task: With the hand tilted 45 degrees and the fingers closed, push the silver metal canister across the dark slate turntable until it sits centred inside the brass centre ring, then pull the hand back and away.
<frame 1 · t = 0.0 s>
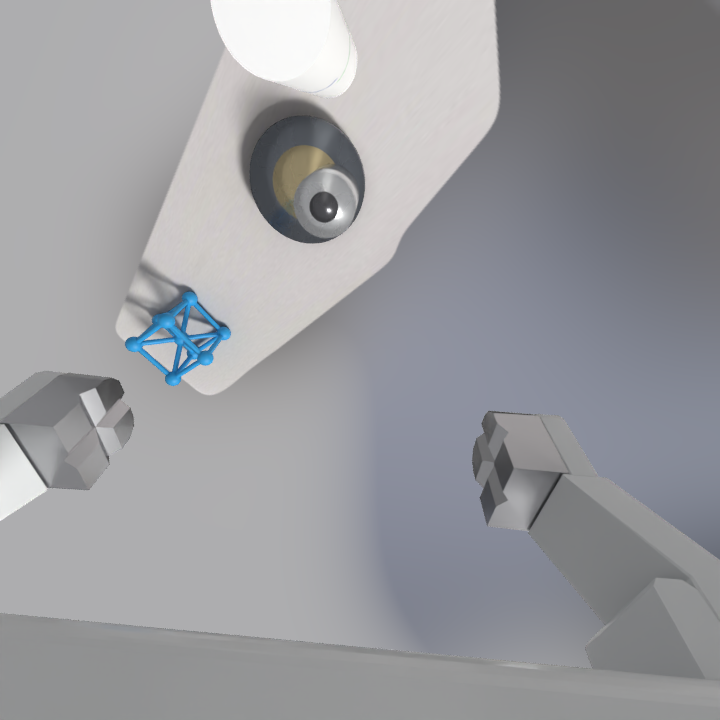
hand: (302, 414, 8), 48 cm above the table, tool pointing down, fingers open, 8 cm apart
silver metal canister: (332, 194, 48), point 3 cm above the table, touching turntable platter
turntable platter: (307, 184, 48), point 2 cm above the table, hinge at 0.0°, touching silver metal canister
molecular structure: (195, 323, 63), on the table
cylindrical container: (326, 60, 42), on the table
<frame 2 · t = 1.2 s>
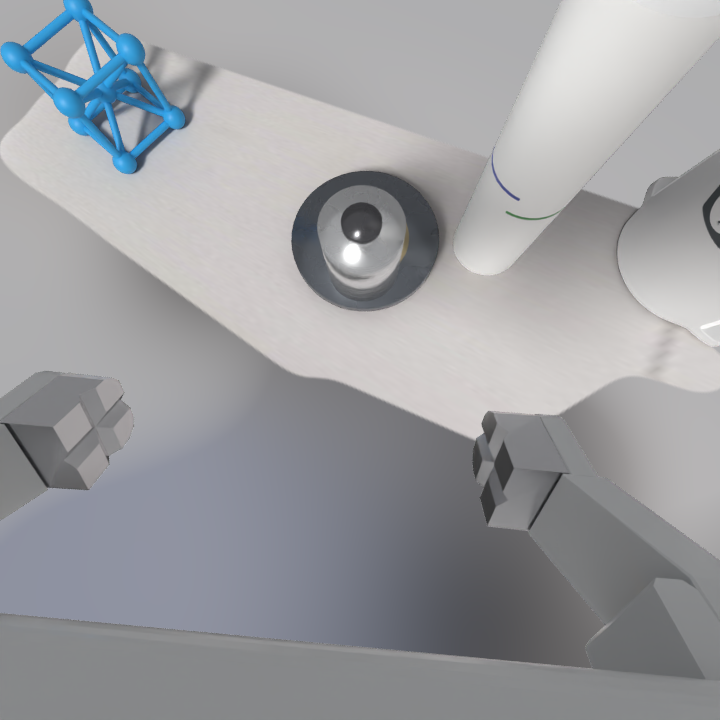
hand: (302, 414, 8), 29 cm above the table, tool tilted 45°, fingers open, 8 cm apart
silver metal canister: (363, 268, 36), point 3 cm above the table, touching turntable platter
turntable platter: (364, 239, 37), point 2 cm above the table, hinge at 0.0°, touching silver metal canister
molecular structure: (135, 130, 43), on the table
cylindrical container: (485, 245, 39), on the table
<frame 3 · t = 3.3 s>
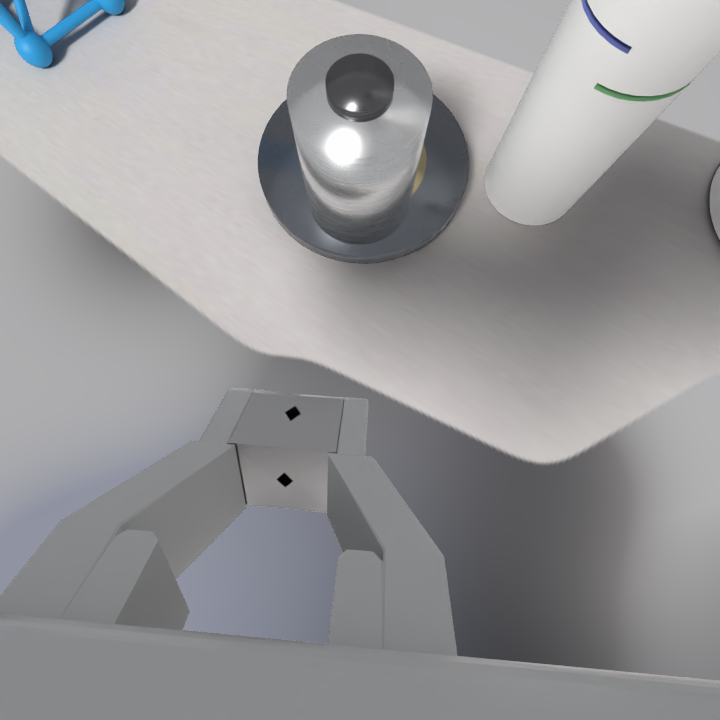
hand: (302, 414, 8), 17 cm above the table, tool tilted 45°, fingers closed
silver metal canister: (359, 198, 25), point 3 cm above the table, touching turntable platter
turntable platter: (363, 163, 26), point 2 cm above the table, hinge at 0.0°, touching silver metal canister
molecular structure: (56, 14, 32), on the table
cylindrical container: (528, 186, 29), on the table
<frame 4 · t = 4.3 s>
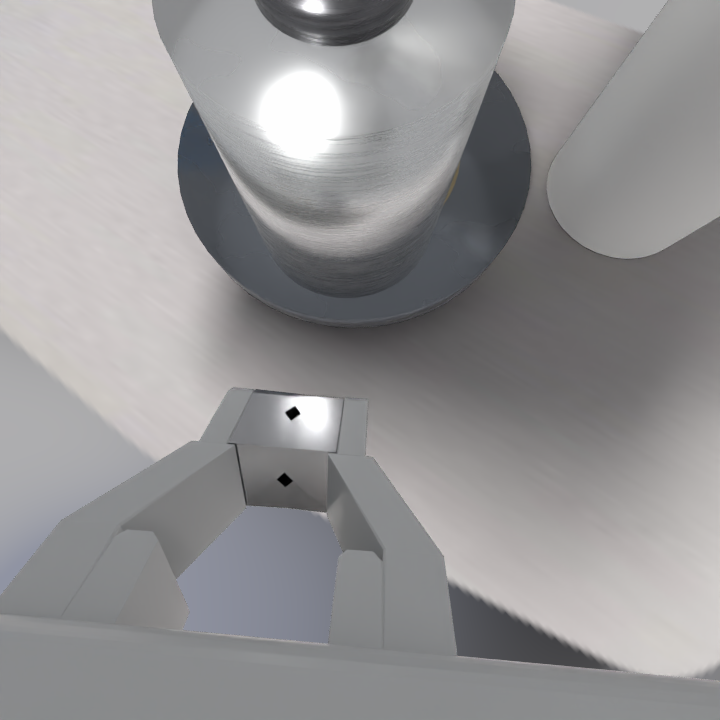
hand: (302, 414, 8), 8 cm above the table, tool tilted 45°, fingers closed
silver metal canister: (347, 217, 15), point 3 cm above the table, touching turntable platter
turntable platter: (354, 160, 16), point 2 cm above the table, hinge at 0.0°, touching silver metal canister
cylindrical container: (615, 195, 18), on the table
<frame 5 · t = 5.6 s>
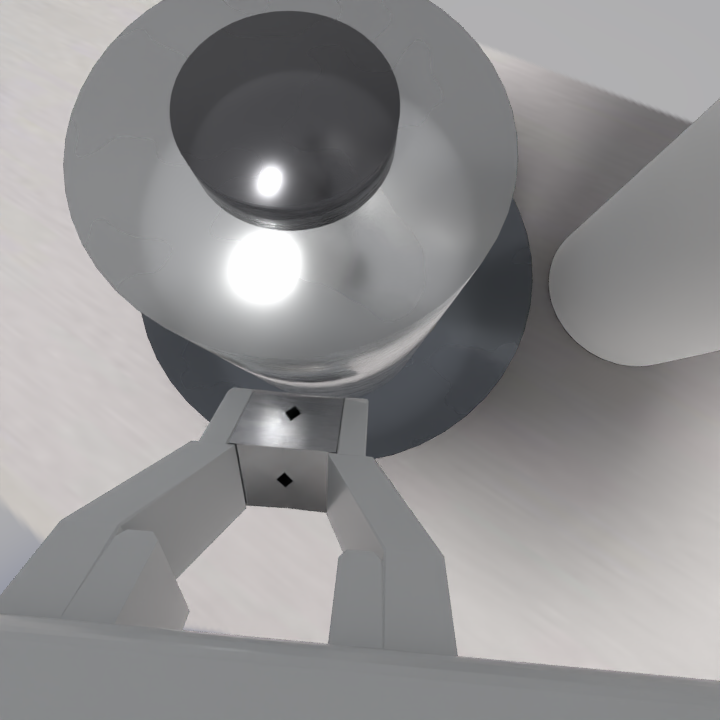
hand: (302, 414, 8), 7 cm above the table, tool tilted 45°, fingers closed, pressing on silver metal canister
silver metal canister: (330, 307, 13), point 3 cm above the table, touching gripper, turntable platter
turntable platter: (337, 267, 14), point 2 cm above the table, hinge at 0.0°, touching silver metal canister
cylindrical container: (623, 291, 17), on the table
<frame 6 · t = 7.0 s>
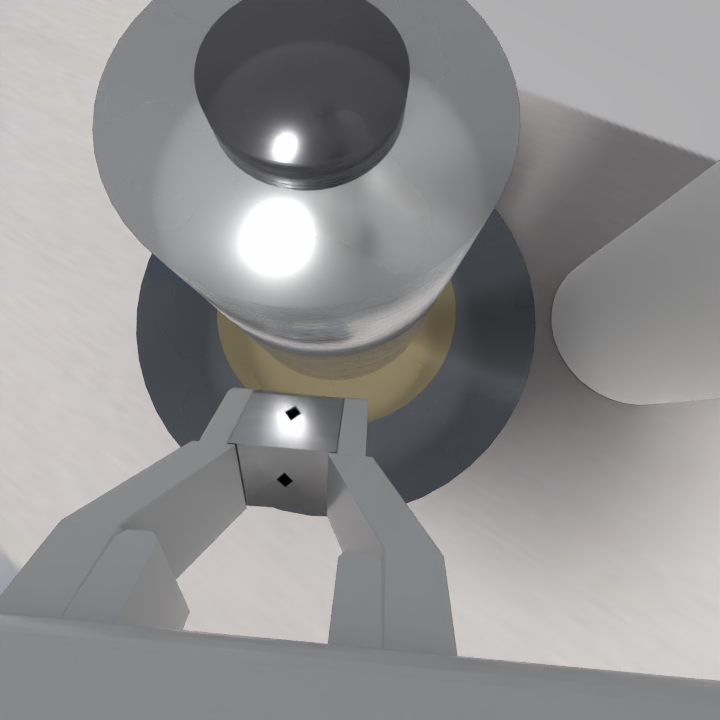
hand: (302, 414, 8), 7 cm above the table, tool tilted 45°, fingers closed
silver metal canister: (336, 289, 14), point 3 cm above the table, touching turntable platter
turntable platter: (337, 310, 14), point 2 cm above the table, hinge at 0.0°, touching silver metal canister
cylindrical container: (626, 327, 17), on the table
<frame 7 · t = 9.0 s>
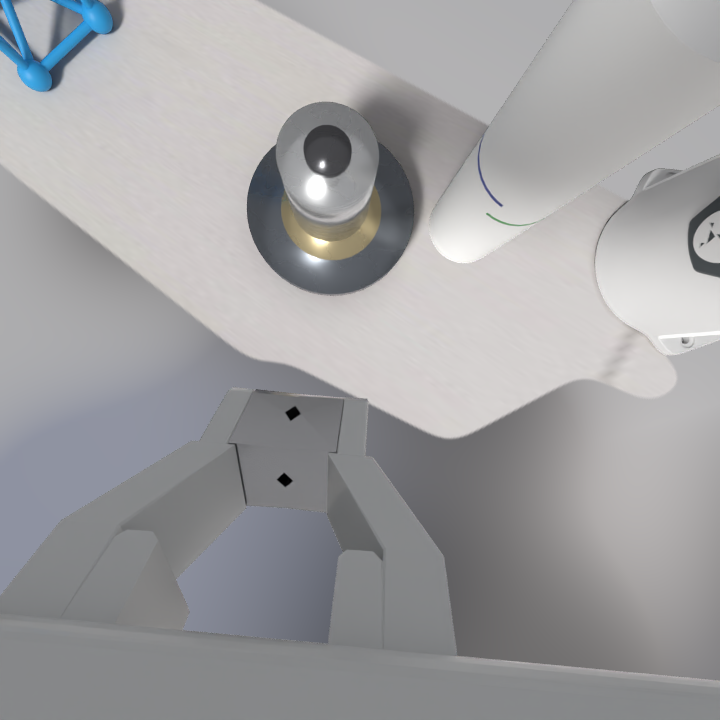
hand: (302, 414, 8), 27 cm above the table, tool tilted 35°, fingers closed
silver metal canister: (330, 202, 33), point 3 cm above the table, touching turntable platter
turntable platter: (331, 212, 33), point 2 cm above the table, hinge at 0.0°, touching silver metal canister
molecular structure: (46, 27, 34), on the table
cylindrical container: (463, 227, 36), on the table
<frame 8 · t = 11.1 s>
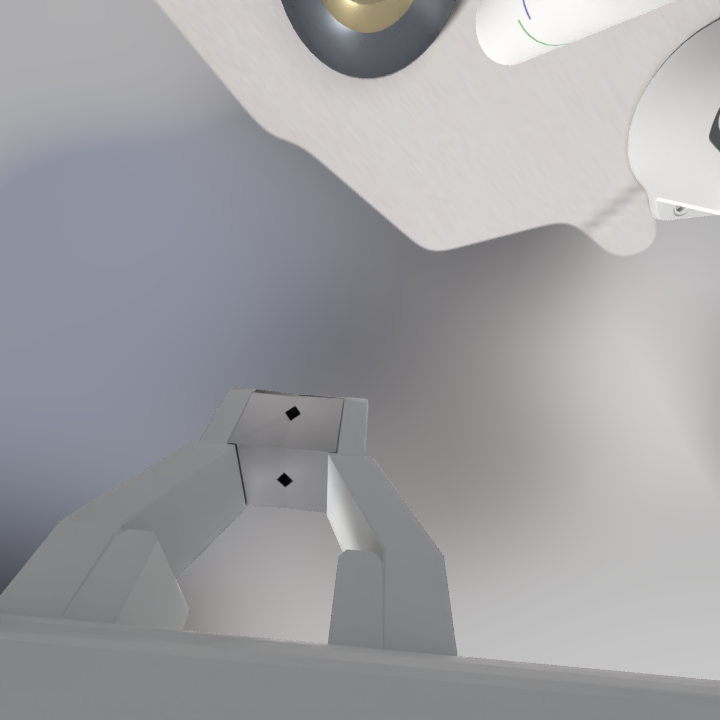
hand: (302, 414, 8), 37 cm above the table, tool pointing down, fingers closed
cylindrical container: (517, 12, 31), on the table
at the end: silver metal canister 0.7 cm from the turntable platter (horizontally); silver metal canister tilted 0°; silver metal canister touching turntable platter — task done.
